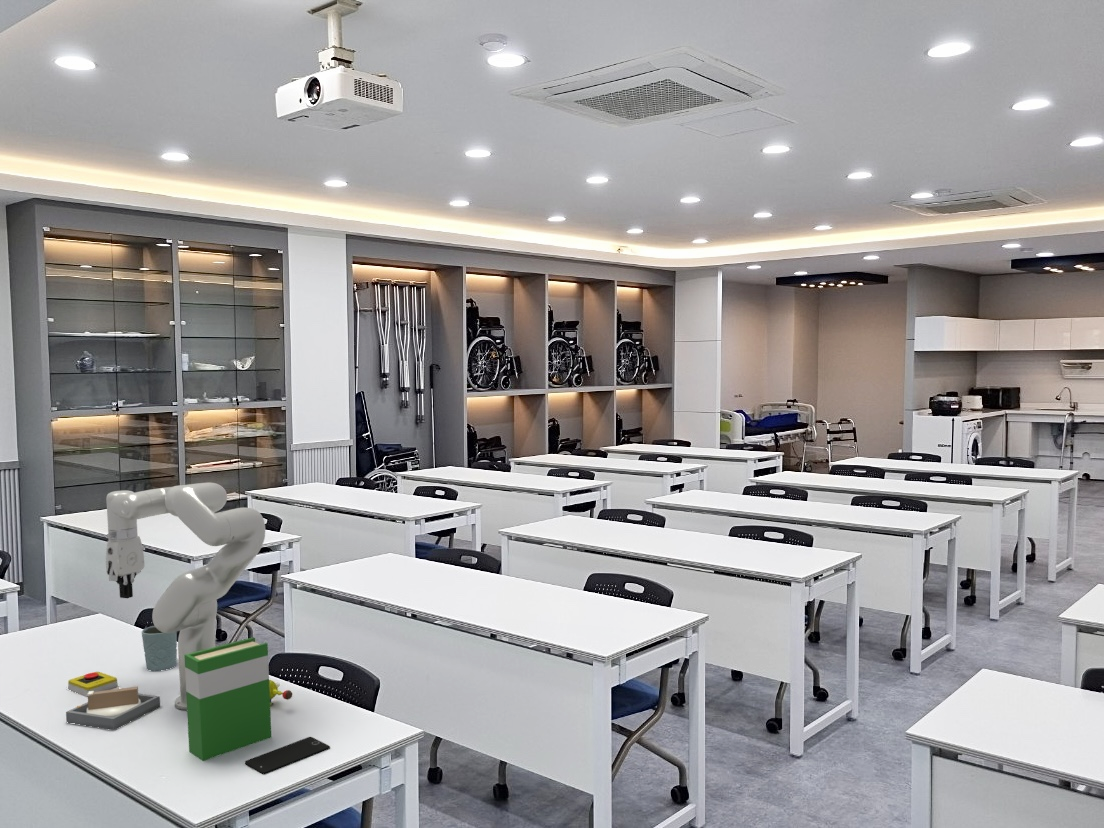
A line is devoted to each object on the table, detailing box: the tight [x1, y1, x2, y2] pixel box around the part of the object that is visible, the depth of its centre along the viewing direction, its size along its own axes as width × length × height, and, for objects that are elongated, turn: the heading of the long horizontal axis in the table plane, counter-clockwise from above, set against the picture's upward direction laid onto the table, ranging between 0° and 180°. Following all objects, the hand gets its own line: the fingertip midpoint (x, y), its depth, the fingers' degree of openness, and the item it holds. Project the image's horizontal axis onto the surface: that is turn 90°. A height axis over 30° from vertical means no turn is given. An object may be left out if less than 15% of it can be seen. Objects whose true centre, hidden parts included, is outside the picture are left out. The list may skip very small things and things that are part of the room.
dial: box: [87, 686, 141, 717], centre depth 240 cm, size 13×13×6 cm
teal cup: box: [141, 625, 178, 672], centre depth 278 cm, size 10×10×12 cm
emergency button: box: [67, 671, 120, 698], centre depth 260 cm, size 9×4×15 cm
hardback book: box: [184, 636, 272, 762], centre depth 220 cm, size 18×7×24 cm, turn 135°
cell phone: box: [244, 736, 331, 776], centre depth 214 cm, size 9×18×1 cm, turn 138°
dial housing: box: [65, 692, 161, 731], centre depth 241 cm, size 16×16×3 cm
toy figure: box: [269, 679, 293, 707], centre depth 245 cm, size 18×6×7 cm, turn 59°
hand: (126, 597), depth 257 cm, fingers closed
